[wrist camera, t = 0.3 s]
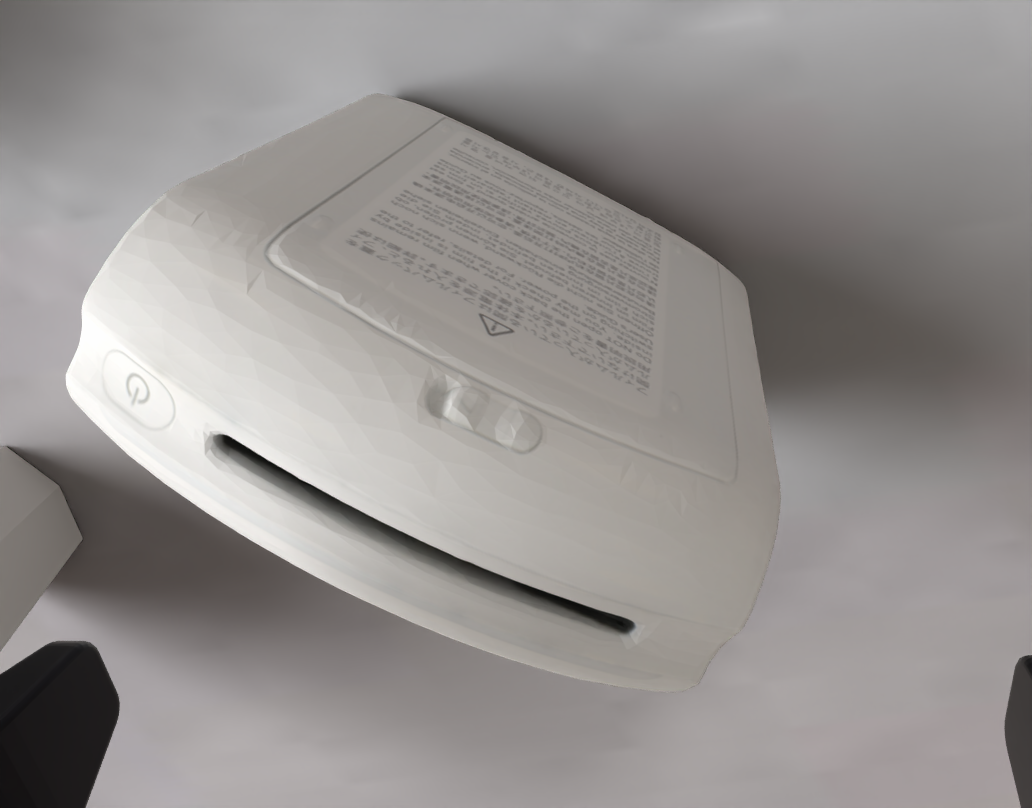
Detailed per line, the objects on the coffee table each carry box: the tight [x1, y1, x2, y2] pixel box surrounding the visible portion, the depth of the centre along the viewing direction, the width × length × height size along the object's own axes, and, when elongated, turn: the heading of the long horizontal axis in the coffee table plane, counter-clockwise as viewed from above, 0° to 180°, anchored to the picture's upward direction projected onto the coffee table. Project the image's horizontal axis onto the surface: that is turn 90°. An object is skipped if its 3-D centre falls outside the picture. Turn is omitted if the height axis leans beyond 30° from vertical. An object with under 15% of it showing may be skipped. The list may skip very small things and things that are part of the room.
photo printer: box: [66, 94, 781, 692], centre depth 17 cm, size 10×4×12 cm, turn 65°
